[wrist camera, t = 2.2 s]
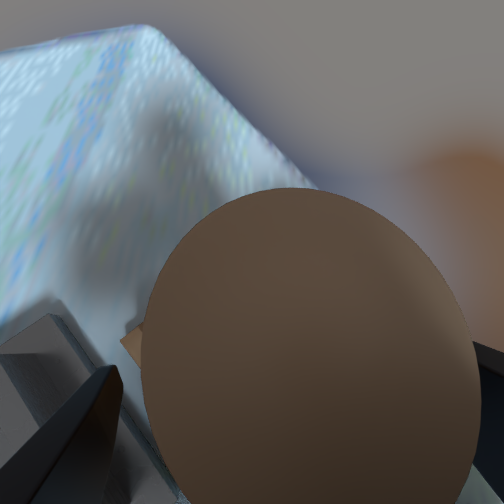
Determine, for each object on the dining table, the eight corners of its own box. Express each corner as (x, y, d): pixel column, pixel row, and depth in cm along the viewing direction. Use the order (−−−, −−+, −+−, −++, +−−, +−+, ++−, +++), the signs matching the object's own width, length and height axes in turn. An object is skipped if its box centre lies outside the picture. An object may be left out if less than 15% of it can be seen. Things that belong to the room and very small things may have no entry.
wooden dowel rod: (295, 345, 15) (524, 333, 4) (238, 411, 13) (361, 750, 2) (242, 288, 16) (304, 147, 5) (182, 342, 14) (59, 317, 3)
